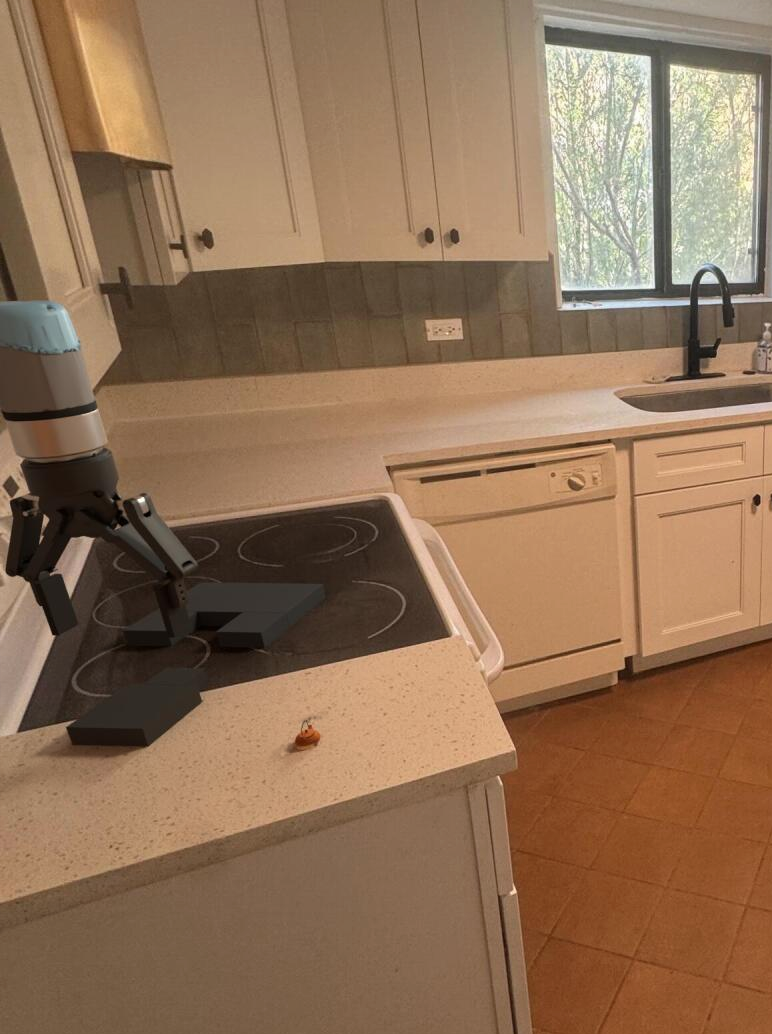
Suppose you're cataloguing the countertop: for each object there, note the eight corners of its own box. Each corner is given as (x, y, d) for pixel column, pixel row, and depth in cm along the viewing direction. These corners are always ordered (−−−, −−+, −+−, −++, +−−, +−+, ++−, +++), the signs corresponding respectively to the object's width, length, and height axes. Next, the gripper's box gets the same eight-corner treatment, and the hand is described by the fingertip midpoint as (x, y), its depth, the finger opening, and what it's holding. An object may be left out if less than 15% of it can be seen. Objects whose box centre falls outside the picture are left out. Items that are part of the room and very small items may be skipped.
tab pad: (76, 756, 90) (65, 727, 89) (159, 693, 103) (151, 667, 101) (151, 757, 90) (142, 728, 89) (226, 694, 102) (219, 668, 101)
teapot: (289, 746, 92) (284, 727, 91) (311, 732, 95) (307, 713, 94) (306, 752, 91) (301, 733, 90) (328, 737, 94) (324, 719, 93)
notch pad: (130, 655, 112) (122, 630, 110) (206, 604, 127) (200, 582, 125) (267, 657, 111) (260, 632, 110) (327, 606, 126) (322, 583, 125)
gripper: (204, 444, 85) (249, 617, 93) (-15, 442, 86) (47, 613, 94) (153, 464, 78) (205, 649, 86) (-85, 461, 79) (-13, 645, 87)
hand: (122, 631), depth 90 cm, fingers open, 13 cm apart
